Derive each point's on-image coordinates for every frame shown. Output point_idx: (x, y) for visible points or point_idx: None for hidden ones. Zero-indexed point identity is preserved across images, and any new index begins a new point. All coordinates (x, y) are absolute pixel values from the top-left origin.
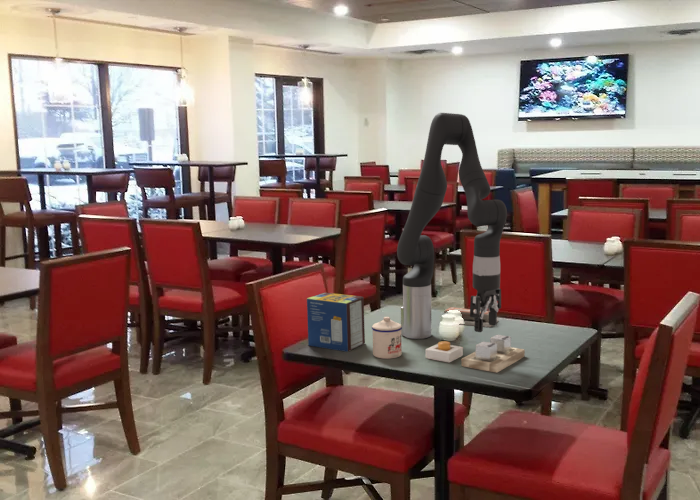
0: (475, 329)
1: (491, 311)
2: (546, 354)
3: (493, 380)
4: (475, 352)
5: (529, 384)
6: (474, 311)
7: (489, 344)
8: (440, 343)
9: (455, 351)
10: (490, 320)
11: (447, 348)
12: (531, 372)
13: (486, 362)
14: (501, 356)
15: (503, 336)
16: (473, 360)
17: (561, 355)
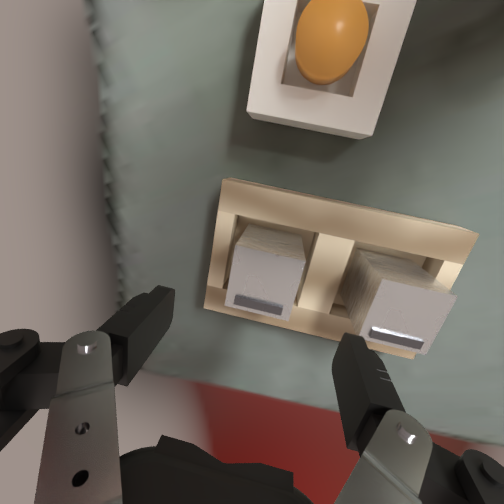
0: (141, 298)
1: (369, 428)
2: (454, 389)
3: None
4: (324, 207)
5: (171, 370)
6: (59, 378)
7: (267, 296)
8: (313, 15)
9: (302, 122)
10: (347, 359)
11: (306, 74)
12: (261, 367)
13: (216, 273)
14: (301, 304)
15: (422, 327)
16: (219, 228)
17: (449, 421)
